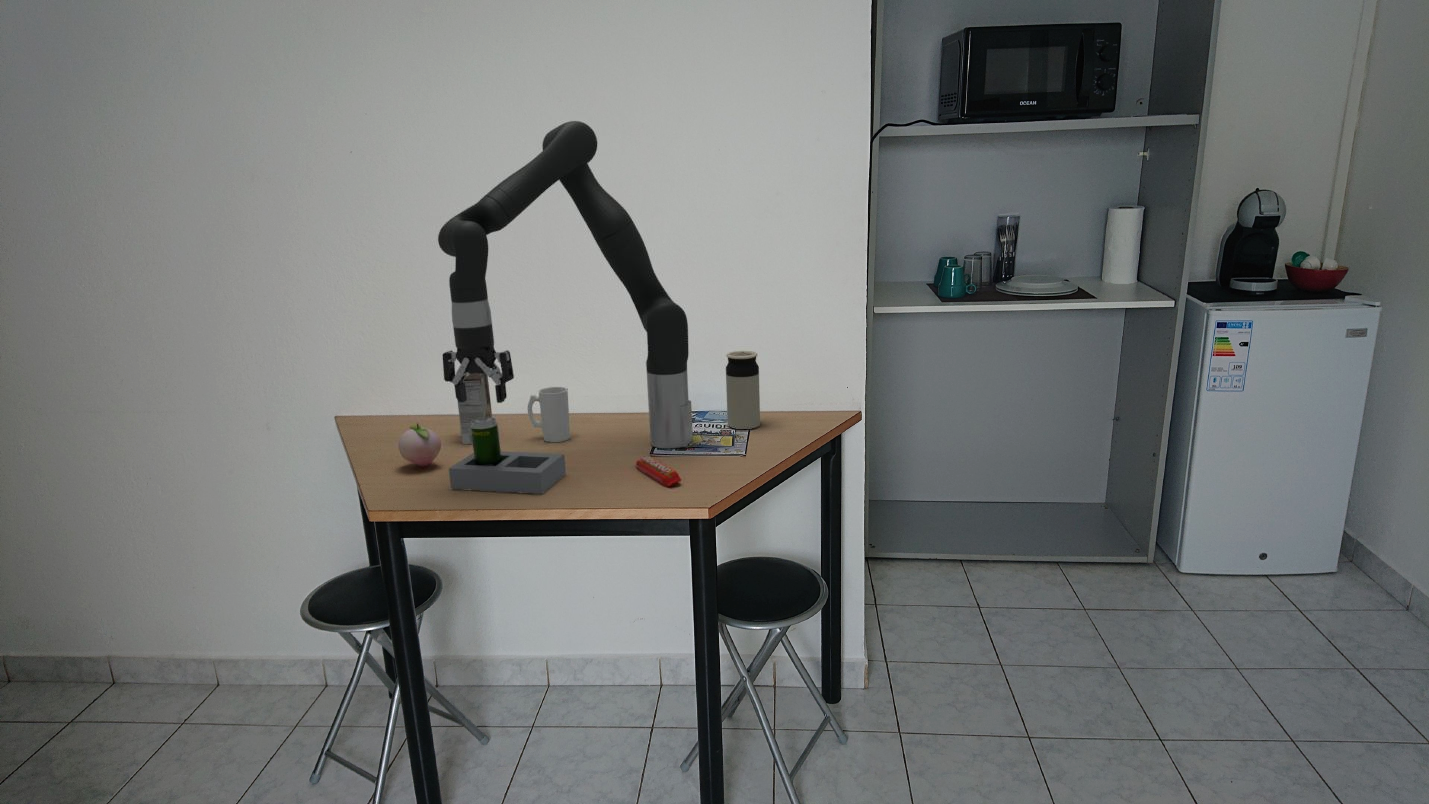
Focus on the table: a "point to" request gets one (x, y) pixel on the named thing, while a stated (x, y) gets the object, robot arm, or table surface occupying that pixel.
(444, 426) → the table surface
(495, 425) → the beer can
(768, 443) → the table surface
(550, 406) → the mug
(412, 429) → the decorative fruit
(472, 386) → the coffee box
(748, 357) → the travel mug
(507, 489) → the drink caddy
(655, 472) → the candy bar
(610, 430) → the table surface
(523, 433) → the table surface
